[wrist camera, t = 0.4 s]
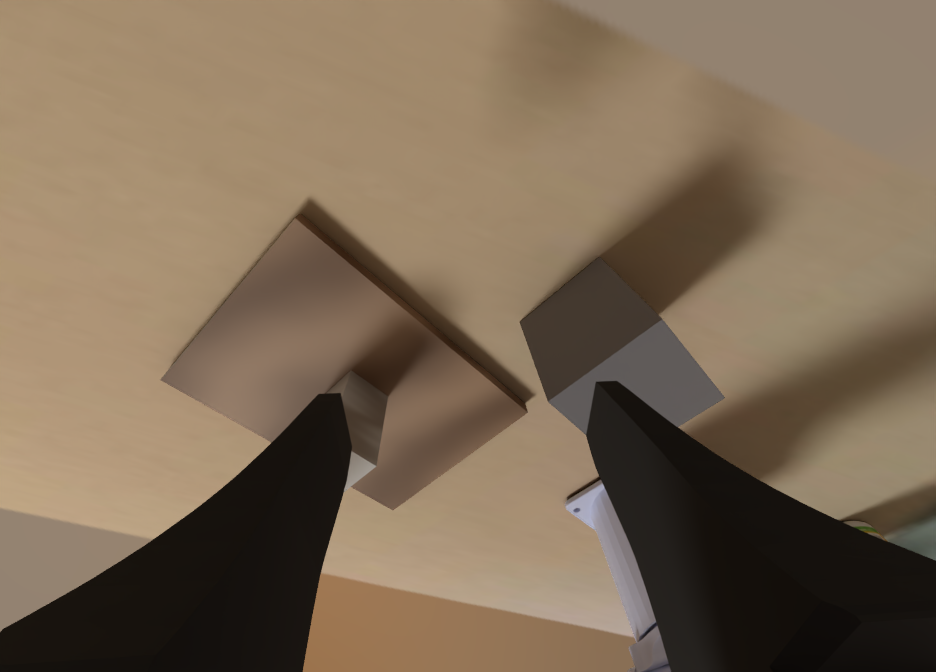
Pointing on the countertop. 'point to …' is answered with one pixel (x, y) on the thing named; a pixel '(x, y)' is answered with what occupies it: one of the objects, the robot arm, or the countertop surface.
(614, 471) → the robot arm
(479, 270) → the countertop surface
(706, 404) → the gray rectangular prism
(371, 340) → the flat brown plate
